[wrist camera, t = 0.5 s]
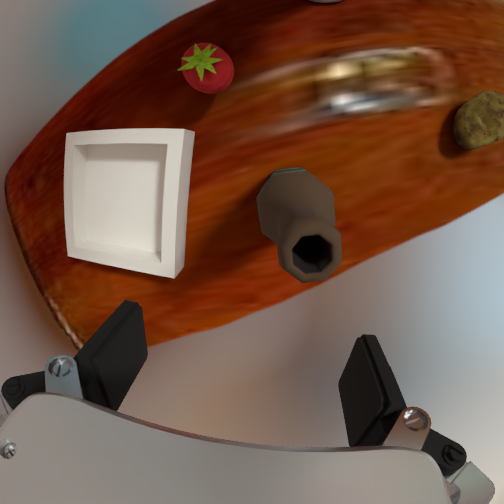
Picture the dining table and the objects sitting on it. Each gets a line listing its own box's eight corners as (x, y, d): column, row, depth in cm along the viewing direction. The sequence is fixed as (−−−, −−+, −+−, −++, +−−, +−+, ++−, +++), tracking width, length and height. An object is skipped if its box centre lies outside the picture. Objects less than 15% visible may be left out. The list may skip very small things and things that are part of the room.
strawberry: (212, 110, 33) (190, 95, 24) (186, 71, 31) (158, 49, 22) (249, 88, 32) (240, 65, 22) (221, 50, 30) (204, 20, 21)
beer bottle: (255, 213, 38) (222, 301, 15) (269, 158, 35) (256, 160, 12) (309, 228, 38) (351, 331, 15) (325, 174, 35) (402, 206, 12)
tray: (83, 133, 35) (66, 133, 31) (194, 131, 34) (184, 128, 30) (82, 247, 42) (68, 256, 38) (184, 266, 41) (174, 278, 37)
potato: (435, 101, 29) (465, 94, 21) (483, 92, 26) (511, 87, 19) (452, 152, 31) (483, 154, 24) (497, 137, 29) (526, 138, 21)
